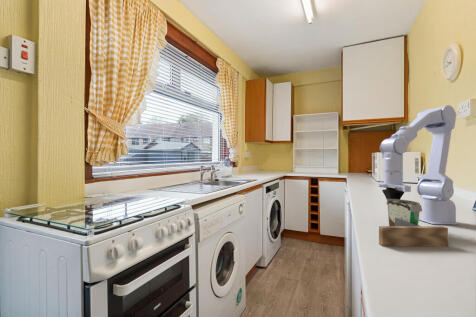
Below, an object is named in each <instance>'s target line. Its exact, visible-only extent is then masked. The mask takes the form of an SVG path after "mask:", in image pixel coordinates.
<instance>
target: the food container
mask: <svg viewBox="0 0 476 317" xmlns="http://www.w3.org/2000/svg"><path fill="white" fill-rule="evenodd" d="M386 205H387V216H388V226H395V218H400V219H402V220H405V221H408V222H411V223H414V224H416V225H419V221H420V220H419V218H420V213H421V212H423V206H422V205H421V203H420V202H417V201H414V200H408V199H386Z"/></svg>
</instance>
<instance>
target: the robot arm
mask: <svg viewBox="0 0 476 317" xmlns="http://www.w3.org/2000/svg"><path fill="white" fill-rule="evenodd" d="M456 118H457V112H456V111H455V108H454V107H453V106H452V105H450V104H448V105H444V106H439V107H435V108H429V109H428V108H427V109H422V110H420V112H418V113H417V116H416V118H415V119H414V120H412V121H411V123H410V124H409V125H404V126H400V127H398V129H399V130H397V131H396V132H395V133H394V134H391V136H390V137H389V138H385V139H383V141H381V143H380V146H379V151H380V152H381V157H382V159H383V181H379V182H378V183H377V186H378V188H384V189H382V190H381V191H382V193H383V196H384V197H385V199H386V200H387V199H400V200H402V199H401V198H402V196H403V195H404V194H405V193H410V192H412V190H411V189H412V187H411V185H407V184H404V154H405V153H406V152H407V150H408V147H409V146H410V144H411V142H413V141H414V140H415V139H416V138H418V132H419V131H420V130H422V129H425V130H426V131H427V132H430V133H432V134H433V135H432V139H431V140H432V141H431V148H430V154H429V160H428V165H427V166H428V167H427V172H426V173H424V174H423V175H420V176H419V181H418V183H417V184H416V192H417V194H418V195H419V197H420V198H422V217H419V221H422V222H425V223H428V224H430V225H459V223H458V222H457V221H456V220H457V207H456V204H455V202H454V201H453V200H451V198H452V197H453V196H454V192H455V189H454V180H453V179H451V178H450V177H449V176H448V175H446V171H447V163H448V157H449V150H450V145H451V139H452V138H451V137H452V136H451V135H452V131H453V130H454V129H455V125H456V120H457V119H456Z"/></svg>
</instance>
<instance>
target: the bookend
mask: <svg viewBox="0 0 476 317" xmlns="http://www.w3.org/2000/svg"><path fill="white" fill-rule="evenodd" d="M395 226H420V225H419V224H418V225H416V224H414V223H411V222H408V221H405V220H402V219H400V218H395Z"/></svg>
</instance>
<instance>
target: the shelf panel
mask: <svg viewBox="0 0 476 317" xmlns="http://www.w3.org/2000/svg"><path fill="white" fill-rule="evenodd" d="M378 244H379V245H380V246H381V247H449V228H448V227H446V226H442V225H441V226H439V225H438V226H436V225H435V226H433V225H432V226H431V225H430V226H428V225H427V226H422V225H419V226H389V225H383V226H382V225H380V226H379V225H378Z"/></svg>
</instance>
